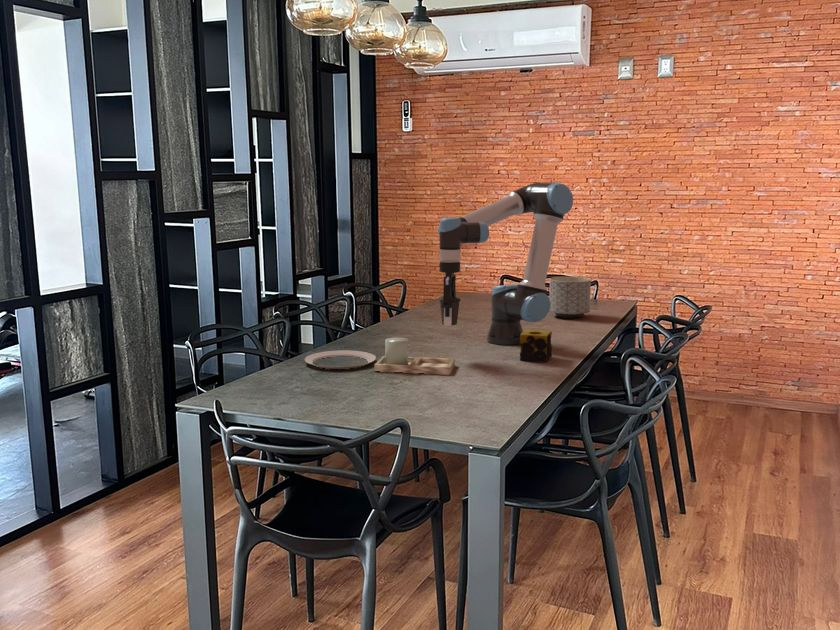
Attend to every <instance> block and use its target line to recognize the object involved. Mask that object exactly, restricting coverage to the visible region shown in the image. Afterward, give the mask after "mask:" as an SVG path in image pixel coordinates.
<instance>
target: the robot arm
mask: <svg viewBox="0 0 840 630" xmlns="http://www.w3.org/2000/svg"><path fill="white" fill-rule="evenodd" d="M573 206H574V195H573V192H572V191H571V189H570V188H569V187H568V186H567V184H564V183H560V182H533V183H530V184H527V185H525V186H522V187H520V188H518V189H516V190H513V191H511V192H509V193H508V194H507V196H506V197H503V198H501V199H499V200H496V201H495V202H492V203H490V204H487V205H485V206H483V207H480V208H478V209H476V210H473V211H471V212H468V213H467V214H464V215H461V216H459V217H443V218H440V220H439V225H438V228H437V233H438V236H439V251H437V255H439V264H438V265H439V267H438V269H439V270H438V271H439V273H443V274H444V273H445V275H444V276H443V297H442V298H443V306H442V308H444V325H443V326H444V327H451V326H453V325H452V308H451V299H452V297H457V296H456V295H457V294H456V292H457V291H456V282H457V281H456V280H457V278H456V277H457V276H456V274H457V273H460V272H461V262H460V260H461V259H462V258H461V257H462V255H461V253H462V252H461V245H463V244H481V243H486V242H487V241H488V239H489V238H490V237H489V236H490V228H489V226H492V225H494V224H496V223H499V222H500V221H503V220H505V219H507V218H509V217H512V216H521V215H524V214H529V213H532V215H533V218H534V219H535V221H534V228H533V233H532V237H531V241H530V244H529V245H530V246H529V251H528V256H527V260H526V264H525V269H524V274H523V278H522V281H520V282H519V283H517V284H503V285H496V286H493V287H492V290H491V323H490V326H489V327H488V328H489V329H488V332H487V335H486V342H488V343H490V344H492V345H493V344H494V345H499V346H500V345H501V346H502V345H503V346H504V345H505V346H511V345H512V346H513V345H520V334H521V333H523V332H524V330H523V327H522V324H521V323H522V322H521V321H524V322H526V323H527V322H528V323H538V322H541V321H542V320H543V319H545V318H546V317H547V316H548V314H549V312H550V311H549V310H550V305H551V303H550V301H549V296H548V295H547V294H548V288H547V286H546V280H547V277H548V273H549V272H548V271H549V267H550V266H549V265H550V262H551V257H552V252H553V249H554V244H555V238H556V234H557V230H558V225H559V224H560V223H561V222H563V220H564V217H565V215H566V214H568V213H569V211H571V210H572V207H573ZM455 273H456V274H455ZM446 303H448V304H446Z"/></svg>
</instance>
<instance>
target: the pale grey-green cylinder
mask: <svg viewBox="0 0 840 630" xmlns="http://www.w3.org/2000/svg"><path fill="white" fill-rule="evenodd" d="M384 347H385V348H384V350H385V351H384V352H385V353H384V356H385V364H390V365H408V357H409V339H408V338H406V337H390V338H389V337H388V338H385V340H384Z"/></svg>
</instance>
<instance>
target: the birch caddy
mask: <svg viewBox="0 0 840 630" xmlns="http://www.w3.org/2000/svg"><path fill="white" fill-rule="evenodd" d="M455 363H456V360H455V358H443V357H441V358H440V357H419V356H418V357H415V356H413V357H412V356H408V365H390V364H385V355H383V356H382V357H380V358H379V359H378V360H377V362H375V363H374V364H373V365H374V371H380V372H379V373H394V372H403V373H402V374H418V373H424V374H425V375H443V376H445V375H446V376H448V375H449V376H450V375H451V374H452V371H453V369H454V368H455V366H456V365H455ZM424 374H423V375H424Z"/></svg>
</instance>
